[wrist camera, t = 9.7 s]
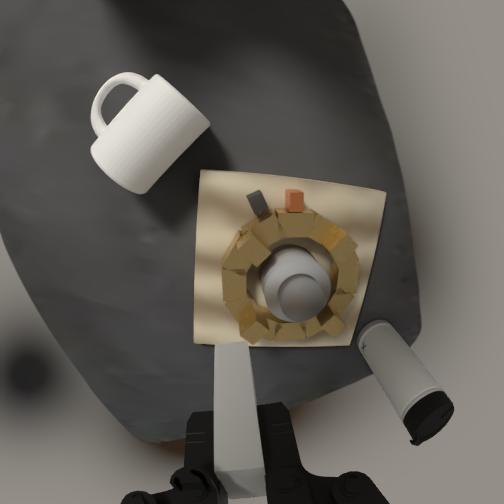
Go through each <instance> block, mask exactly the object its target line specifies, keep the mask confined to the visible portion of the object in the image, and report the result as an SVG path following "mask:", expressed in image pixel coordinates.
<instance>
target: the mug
mask: <svg viewBox="0 0 504 504" xmlns="http://www.w3.org/2000/svg"><path fill="white" fill-rule="evenodd" d="M118 84H127V85H130V86H132V87H134V88H135V89H137V90H138V92H137V93H136V95H135V96H134V97H133V98H132V99H131V100H130V101H129V102H128V103H127V104H126V105H125V107H124V108H123V109H122V110H121V111H120V112H119V113H118V114H117V116H116V117H115V118H114V119H113V120H112V121H111V123H110V124H109V125H108V126H107V125H106V123H105V122H104V120H103V118H102V115H101V106H102V103H103V101H104V99H105V97H106V96H107V95H108V93H109V92H110V91H111V90H112V89H113V88H114V87H115V86H116V85H118ZM91 123H92V127H93V129H94V131H95V133H96V135H97V136H98V139H97V140H96V141H95V142H94V144H93V145H92V146H91V154H92V157H93V158H94V160H95V162H96V163H97V164H98V166H99V167H100V168H101V169H102V170H103V171H104V172H105V173H106V174H107V175H108V176H109V177H110V178H111V179H112V180H114V181H115V182H116V183H118V184H119V185H121V186H122V187H124V188H125V189H127V190H129V191H131V192H134V193H137V194H145V193H146V192H147V191H148V190H149V189H150V188H151V187H152V186H153V184H154V183H155V182H156V181H157V180H158V179H159V178H160V177H161V175H162V174H163V173H164V172H165V171H166V170H167V169H168V168H169V167H170V166H171V165H172V164H173V163H174V161H175V160H176V159H177V158H178V157H179V156H180V155H181V154H182V153H183V152H184V151H185V150H186V149H187V148H188V147H189V146H190V145H191V144H192V143H193V142H194V141H195V140H196V139H197V138H198V137H199V136H200V135H201V134H202V133H203V132H204V131H205V130H206V129H207V128H208V127H209V126H210V122H209V121H208V120H207V119H206V118H205V117H204V116H203V115H202V114H201V112H199V111H198V110H197V109H196V108H195V107H194V106H193V105H192V104H191V103H190V102H189V101H188V100H187V99H186V98H185V97H184V96H183V95H182V94H181V93H179V92H178V91H177V90H176V89H175V88H174V87H173V86H172V85H170V84H169V83H168V82H167V81H166V80H165V79H163V78H162V77H161V76H159V75H158V74H156V75H154V76H153V77H152V78H151V79H150V80H148V79H146V78H145V77H143V76H141V75H139V74H136V73H131V72H126V73H121V74H118V75H116V76H114V77H112V78H111V79H109V80H108V81H107V82H106V83H105V84H104V85H103V86H102V87H101V89H100V90H99V92H98V93H97V95H96V97H95V99H94V102H93V105H92V110H91Z"/></svg>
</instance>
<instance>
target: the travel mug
mask: <svg viewBox="0 0 504 504" xmlns="http://www.w3.org/2000/svg"><path fill="white" fill-rule="evenodd" d="M357 347H358V348H359V350H360V352H361V353H362V355H363V357H364V358H365V360H366V361H367V363H368V365H369V366H370V368H371V370H372V371H373V373H374V375H375V376H376V378H377V380H378V381H379V383H380V384H381V386H382V388H383V390H384V391H385V393H386V395H387V396H388V398H389V400H390V401H391V403H392V405H393V407H394V409H395V410H396V412H397V414H398V415H399V417H400V419H401V420H402V422H403V424H404V425H405V427H406V428H407V430H408V432H409V434H410V435H411V437H412V439H413V441H412V440H410V442H411V444H413V445H416V446H418V445H420V444H421V443H422V442H424V441H426V440H428V439H430V438H432V437H433V436H434V435H436V434H437V433H438V432H439V431H440V430H441V429H442V428H443V427H444V426H445V425H446V424H447V423H448V421H449V420H450V418H451V416H452V415H453V412H454V406H453V403H452V402H451V400H450V399H449V398H448V397H447V395H446V393H445V391H444V390H443V389H442V388H441V386H440V385H439V384H438V383H437V381H436V380H435V378H434V377H433V376H432V375H431V373H430V372H429V371H428V370H427V368H426V367H425V366H424V365H423V363H422V362H421V361H420V360H419V358H418V357H417V356H416V355H415V354H414V352H413V351H412V350H411V349H410V347H409V346H408V345H407V344H406V342H405V341H404V340H403V339H402V338H401V336H400V335H399V334H398V333H397V332H396V330H395V329H394V328H393V327H392V326H391V324H390V323H389V322H388V321H386V320H375V321H372V322H370V323H368V324H367V325H366V326H364V327H363V329H362V330H361V331H360V333H359V334H358V337H357Z"/></svg>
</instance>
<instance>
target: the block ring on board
mask: <svg viewBox="0 0 504 504" xmlns="http://www.w3.org/2000/svg"><path fill="white" fill-rule="evenodd" d="M285 189H298V190H300V191H302V192H304V206H303V208H309V209H310V210H311V209H312V210H314V211H315V212H317V213H319V214H320V215H322V216H323V217H325V218H327V219H328V220H330V221H332V222H333V223H335V224H336V225H338V226H339V227H341V228H342V229H343V230H345V232H347V233H348V234H349V235H350V237H351V238H352V239H353V240H354V241H355V242H356V243H357V244H358V247H357V248H356V249H355V251H356V254H357V256H358V258H359V260H360V261H359V263H360V268H359V276H358V283H357V290H356V294H353V295H354V296H355V297H354V298H353V299H352V301H351V302H350V304H349V305H348V307H347V308H346V309H345V311H344V312H343V313H342V315H341V316H340V317H341V319H342V320H343V322H344V323H345V325H346V326H347V328H346V329H345V330H344V331H342V332H341V333H340V334H339V335H338V336H336V337H335V338H333V337H332V336H331V335H330V334H329V333H328V332H326V331H325V330H324V329H323V330H322V331H320V332H318V333H316V334H314V335H313V336H311V337H309V338H307V336H306V334H305V339H299V340H287V341H274V339H273V340H272V341H270V340H268V339H265V338H263V337H262V338H261V339H260V340H259V341H258V342H257V343H255V344H254V345H252V344H250V343H249V342H248V346H268V347H312V346H345V345H350V342H351V339H352V336H353V333H354V330H355V326H356V323H357V320H358V316H359V313H360V309H361V306H362V302H363V299H364V295H365V291H366V287H367V283H368V279H369V275H370V271H371V267H372V263H373V259H374V254H375V250H376V245H377V241H378V236H379V231H380V226H381V221H382V215H383V210H384V204H385V198H386V192H383V191H380V190H375V189H370V188H364V187H358V186H351V185H345V184H338V183H332V182H325V181H317V180H310V179H302V178H294V177H286V176H277V175H267V174H257V173H246V172H235V171H222V170H207V169H202V170H200V183H199V197H198V213H197V232H196V254H195V285H194V343H199V344H214V345H215V344H224V343H232V342H240V341H246V340H245V339H243V338H242V337H241V336H240V332H239V324H238V322H237V321H236V320H235V318H234V317H233V316H232V314H231V313H230V312H229V310H228V309H227V307H226V306H225V305H224V301H223V290H222V270H221V269H222V258H223V256H224V254H225V252H226V251H227V249H228V247H229V245H230V244H231V242H232V240H233V238H234V237H235V235H236V233H237V231H238V229H239V230H241V231H242V229H241V227H242V226H243V225H245V224H247V223H248V222H250V221H252V220H253V219H255V218H257V217H258V216H260V215H262V214H264V213H265V212H267V211H269V210H270V209H271V210H272V211H273V212H274V208H285ZM269 248H270V251H271V254H270V255H269V256H268V257H267V258H266V259H265V260H264V261H263V262H262V263H261V264H260V265H259V266H258V267H256V266H255V265H254V264H251V266H250V268H249V269H248V271H247V273H246V288H247V290H248V291H249V293H250V294H251V296H252V297H253V299H254V300H255V302H256V303H257V304H259V305H261V306H263V307H265V308H268V309H269V310H270V311H271V313H272V314H273V315H275V316H276V317H277V318H279V319H281V320H284V321H289V322H301V321H307V320H310V319H312V318H313V317H315V316H316V315H317V314H318V313H319V312H320V311H321V310H322V309H323V308H324V306H325V305H326V303H327V302H328V299H329V296H330V292H331V284H330V273H331V262H332V261H331V259H330V257H329V255H328V253H327V251H326V249H325V247H324V246H323V245H321V244H320V243H318V242H316V241H314V240H313V239H311V238H309V237H294V238H281V239H280V240H278V241H276V242H275V243H273V244H271V245H269Z"/></svg>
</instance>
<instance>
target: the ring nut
mask: <svg viewBox="0 0 504 504" xmlns="http://www.w3.org/2000/svg"><path fill="white" fill-rule="evenodd" d="M303 206H304V192H302V191H300V190H298V189H285V208H274V212H273V211H272V210H271V209H270V210H269V211H267V212H265V213H264V214H262V215H260V216H258V217H257V218H255V219H253V220H252V221H250V222H248V223H247V224H245V225H243V226H242V227H241V229H242V231H241V230H239V229H238V231H237V233H236V235H235V237H234V238H233V240H232V242H231V244H230V245H229V247H228V249H227V251H226V252H225V254H224V256H223V258H222V269H221V270H222V290H223V301H224V305H225V306H226V307H227V309H228V310H229V312H230V313H231V314H232V316H233V317H234V318H235V320H236V321H237V322H238V324H239V332H240V336H241V337H242V338H243V339H245V340H246V341H248V342H249V343H250V344H252V345H254V344H255V343H257V342H258V341H259V340H260V339H261V338H262V337H263V338H265V339H268V340H270V341H272V340H273V339H274V341H287V340H299V339H305V334H306V336H307V338H309V337H311V336H313V335H314V334H316V333H318V332H320V331H322V330H323V329H324V330H325V331H326V332H328V333H329V334H330V335H331V336H332V337H333V338H335V337H336V336H338V335H339V334H340V333H341V332H342V331H344V330H345V329H346V328H347V326H346V325H345V323H344V322H343V320H342V319H341V317H340V316H341V315H342V313H343V312H344V311H345V309H346V308H347V307H348V305H349V304H350V302H351V301H352V299H353V298H354V297H355V296H354V295H353V294H356V290H357V283H358V276H359V268H360V263H359V261H360V260H359V258H358V256H357V254H356V251H355V249H356V248H357V247H358V244H357V243H356V242H355V241H354V240H353V239H352V238H351V237H350V235H349V234H348V233H347V232H345V230H343V229H342V228H341V227H339V226H338V225H336V224H335V223H333V222H332V221H330V220H328V219H327V218H325V217H323V216H322V215H320V214H319V213H317V212H315V211H314V210H312V209H311V210H310V209H309V208H303ZM294 237H309V238H311V239H313V240H314V241H316V242H318V243H320V244H321V245H323V246H324V247H325V249H326V251H327V253H328V255H329V257H330V259H331V261H332V262H331V273H330V284H331V292H330V296H329V299H328V302H327V303H326V305H325V306H324V308H323V309H322V310H321V311H320V312H319V313H318V314H317V315H316V316H315V317H313V318H312V319H310V320H307V321H301V322H289V321H284V320H281V319H279V318H277V317H276V316H275V315H273V314H272V313H271V311H270V310H269V309H268V308H265V307H263V306H261V305H259V304H257V303H256V302H255V300H254V299H253V297H252V296H251V294H250V293H249V291H248V290H247V288H246V273H247V271H248V269H249V268H250V266H251V264H254V265H255V266H256V267H258V266H259V265H260V264H261V263H262V262H263V261H264V260H265V259H266V258H267V257H268V256H269V255H270V254H271V251H270V248H269V245H271V244H273V243H275V242H276V241H278V240H280V239H281V238H294Z"/></svg>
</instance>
